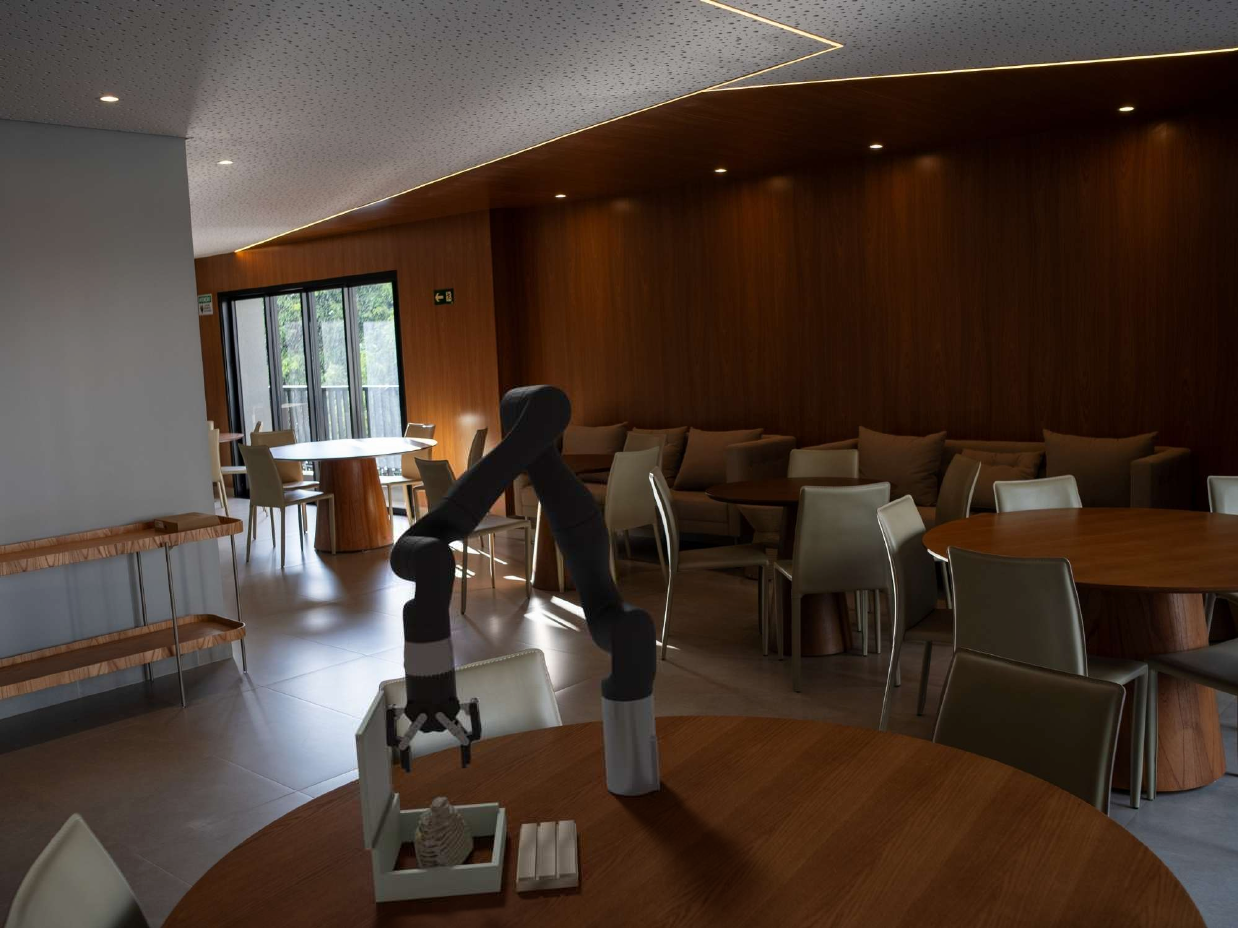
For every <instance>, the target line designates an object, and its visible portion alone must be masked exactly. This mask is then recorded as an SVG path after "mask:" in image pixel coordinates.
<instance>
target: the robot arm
mask: <svg viewBox="0 0 1238 928" xmlns="http://www.w3.org/2000/svg"><path fill="white" fill-rule="evenodd" d="M571 404H572V403H571V401H570V398H569V396H568V394H566V392H565V391H564V390H562V388H559V386H555V385H551V384H550V385H549V384H539V385H530V386H522V387H516V388H513V389H510V390H509V391H507V392H506V393H505V394H504V395H503V397H502V399H501V401H500V404H499V418H500V423H501V425H502V429H503V431H504V433H505V437H504V438H503V439H502V440H500V442H498V444H497V445H496V446H495V447H494V448H492V449H491V450H490V451H488V453H486V454H485V455H484V456H482V457H481V458H480V459H478V460H477V461H476V462H474V463H473V464H472V465H471V466H470V467H469V468H467V469H466V470H465V471H464V472H463V473H461V475H460V476H459V477H458V478H457V479H456V480H455V481H454V482H453V484H452V485H451V486H450V487H449V488H448V490H447V491H446V492H445V493H444V495H443V496H442V497H441V498H440V500H438V502H437V503H436V505H435V506H434V508H432V509H431V510H430V511H428V512H427V513H425V514H424V515H423V516H421V517H420V519H418V520H417V521H416V522H415V523H413V524H412V525H411V526H410V527H408V528H407V529H406V530H405V531H404V532H403V533H402V534H401V536H399V538H398V539H397V540H396V542H395V543H394V545H393V546H392V549H391V552H390V556H389V563H390V568H391V570H392V572H393V573H394V575H396V577H398V578H399V579H402V580H404V581H407V582H408V581H409V582H411V583H412V582H413V583H415V588H414V597H413V598H411V599H409V600H407V601H406V602H405V603H404V605H403V607H402V625H403V626H402V627H403V662H402V663H403V669H404V678H405V679H404V680H405V681H404V682H405V692H406V704H405V705H396V703H393V702H392V703H390V704H388V707H387V708H386V743H387V745H388V746H389V748H391V747H395V748H398V750H399V756H400V757H399V758H400V767H401V769H402V770H405V773H406V774H408V773H411V772H412V769H413V757H412V756H413V755H412V745H411V744H410V743H411V741H412V740H414V738H415V736H416V735H417V734H418V732H421V733H422V734H430V733H432V732H437V733H444V732H445V731H446V730H447V731H448V732H449V733H450V734H451V735H452V737H455V738H456V739H457V740H458V741H459V742H460V759H461V761H460V762H461V769H468V765H470V764H471V761H472V758H473V757H472V742H475V741H479V740H480V739H481V738H482V733H483V731H482V730H483V728H482V727H483V726H482V721H481V713H480V705H479V700H478V698H477V697H472V698H471V699H470V700H465V701H460V700H459V698H458V694H457V679H456V665H455V664H456V663H455V650H454V644H453V639H452V629H451V616H450V605H451V601H452V598H453V590H454V586H455V579H456V573H457V572H456V569H457V567H456V564H457V563H456V558H455V555H454V552H453V549H452V547H451V546H450V544H452V543H454V542H457V541H462V540H465V539H467V538H468V537H469V536H470V535H472V533H473V532H474V531H475V530H476V528H477V527H478V526H479V525H480V523H481V522H482V521H483V519H484V518H485V517H486V516H487V515H488V513H489V512H490V511H491V509H492V508H493V506H494V505H495V504H496V502H497V501H498V500H499V499H500V498H501V497H502V496H503V494H504V493H505V491H506V490H508V488H509V487H510V486H511V485H512V484H513V483H514V482H515V480H517V478H519V476H520V475H521V474H522V473H523V472H524V471H525V473H526V474H527V476H528V478H529V481H530V483H531V486H532V488H533V491H534V493H535V495H536V497H537V499H538V503H539V504H540V506H541V509H542V511H543V514H544V516H545V518H546V522H547V524H548V527H549V529H550V532H551V534H552V537H553V539H554V542H555V543H556V547H557V548H558V550H559V553H560V555H561V556H562V558H563V562H564V563H565V566H566V569H567V571H568V574H569V576H570V578H571V580H572V582H573V584H574V587H575V590H576V592H577V596H578V598H579V601H580V604H581V607H582V611H583V615H584V618H585V621H586V626H587V628H588V629H587V630H588V631H589V635H590V637H591V639H592V640H593V642H594V644H595V645H596V646H597V647H598V648H600V649H601V650H602V651H604V652H606V653H608V654H611V655H610V657H611V658H610V659H611V671H610V673H607V674H606V675H603V677H602V679H601V681H600V692H601V705H602V706H601V707H602V723H603V725H602V726H603V738H604V756H605V757H604V758H605V769H606V770H605V771H606V773H605V775H606V785H607V786H606V787H607V790H608V791H610V792H612V793H613V794H615V795H618V796H619V795H620V796H627V797H633V796H634V797H635V796H642V795H646V794H649V793H651V792H653V791H659V790H661V789H660V788H661V787H660V771H659V769H660V768H659V767H660V766H659V751H658V739H657V734H656V720H655V719H656V718H655V703H654V699H655V698H654V681H655V679H656V677H657V676H656V675H657V665H658V664H657V631H656V626H655V625H656V624H655V622H654V619H653V617H652V615H651V614H650V613H649V612H648V611H647V610H645V609H643V608H641V607H638V606H635V605H633V604H629V603H626V601H625V600H624V599H623V597H622V596H621V594H620V593H621V592H620V591H619V589H618V587H617V585H616V583H615V580H614V578H613V577H614V576H613V575H612V572H611V571H612V570H611V566H610V565H611V564H610V557H611V555H610V554H611V538H610V537H611V536H610V531H609V529H608V526H607V522H606V520H605V518H604V515H603V513H602V511H601V508H600V505H599V503H598V501H597V499H596V498H595V496H594V494H593V493H592V491H591V490H590V489H589V487H587V485H586V484H585V483H584V482H583V481H582V480H581V478H579V476H578V475H576V473H575V472H574V471H573V470H572V469H571V468H570V467H569V465H568V464H566V461H564V459H563V457H562V456H561V454H560V452H559V450H558V448H557V446H556V443H555V442H556V441H557V439H559V438H560V437H561V436H562V434H564V433H565V431H566V430H567V428H569V425H570V422H571V420H572V419H571V418H572V414H573V413H572V411H573V409H572V405H571ZM460 711H463V712H464V713H465V715H466V716H467V717H469V718H470V726H471V730H470V731H468V730H467V729H466V727H464V725H463V722H461V721H460V720H459V718H458V717H457V715H458V714H459V713H460ZM403 714H404V715H405V717H406V718H407V719H408V720H409V721H410V722H411V724H410V725H409V726H408V728H407V730H406V731H405V733H404V734H403V735H402V736H401V735H398V721H400V720H401V717H402V715H403Z"/></svg>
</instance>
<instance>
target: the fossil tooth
mask: <svg viewBox="0 0 1238 928" xmlns="http://www.w3.org/2000/svg"><path fill="white" fill-rule="evenodd" d="M448 800H449V798H448V797H446V796H444V797H441V796H437V797H436V798H434V799H433V801H432V802H431V803H430V805H429V808H430V809H428V810H426V811H425V812H424V813H422V814H421V815H420V819H421V820H420V821H419V822H418V825H419V826H418V828H417V829H416V831H415V834H414V841H415V842H413V845H414V849H415V850H414V851H415V857H416V860H417V863H418V867H419V868H418V869H424V868H435V867H447V866H458V865H463V863H464V862H465V861H466V859H467V857H469V855H470V853H471V852H472V850H473V849H474V839H473V837H472V835H471V834H470V833H471V831H469V828H468V827H467V824H466V823H464V821H465V820H463V819H462V816H461V814H458V809H457V808H455V809H454V806H455V805H452V804H450V802H449V801H448Z"/></svg>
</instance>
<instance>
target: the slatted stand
mask: <svg viewBox="0 0 1238 928" xmlns="http://www.w3.org/2000/svg"><path fill="white" fill-rule="evenodd" d="M576 824H577V823H575V821H574V819H572V820H570V819H569V820H559V821H558V824H556V821H548V822H547V821H546V822H540V826H538V823H537V822H535V823H523V824H521V827H520V828H519V829H520V831H519V842H518V843H519V844H518V855H517V856H518V857H517V868H516V869H517V871H516V892H528V891H529V892H530V891H539V890H550V889H551V890H552V889H563V888H573V887H579V886H580V885H579V870H578V869H579V867H578V866H579V865H578V842H577V841H578V839H577V825H576Z"/></svg>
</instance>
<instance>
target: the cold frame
mask: <svg viewBox="0 0 1238 928" xmlns="http://www.w3.org/2000/svg"><path fill="white" fill-rule="evenodd" d="M386 707H387V706H386V697H385V690H378V691H377V692H376V695H375V697H374V698H373V700H372V702H371V704H370V706H369V708H368V710H367V712H366V714H365V715H364V717H363V719H362V721H361V723H360V725H359V727H358V728H357V730H356V732H355V734H354V736H355V737H354V738H355V747H356V750H355V751H356V758H357V759H356V761H357V769H358V783H359V792H360V793H359V794H360V804H361V805H360V806H361V815H362V817H361V818H362V827H363V837H364V848H365V851H371V861H372V872H373V873H372V874H373V883H374V885H373V886H374V893H375V894H374V895H375V903H383V902H385V903H386V902H392V901H393V902H394V901H405V900H416V899H417V900H418V899H430V898H438V897H439V898H441V897H449V896H450V897H453V896H463V895H472V894H473V895H476V894H484V893H485V894H487V893H497V892H498V893H499V892H501V886H502V878H503V876H502V875H503V868H504V858H505V857H504V856H505V849H506V848H505V847H506V839H507V838H506V837H507V822H506V821H507V820H506V807H500V808H499V802H488V803H479V804H478V803H475V804H464V805H453V806H454V809H455V808H457V809H458V814H461V816H462V819H463V820H465V821H464V823H466V824H467V827H468V828H469V831H471V833H470V834H471V835H472V838H474V837H484V836H494V843H493V851H492V857H491V858H492V859H491V862H484V863H473V864H461V865H458V866H447V867H435V868H424V869H419V868H416V869H415V868H414V869H413V868H412V869H402V870H394V868H395V865H396V862H397V859H398V857H399V853H400V850H401V846H402V844H404V843H411V842H413V843H414V842H415V841H414V834H415V831H416V829H417V828H418V826H419V825H418V822H419V821H420V820H421V819H420V815H421V814H422V813H424V812H425V811H426V810H428V809H430V807H427V808H417V809H405V810H404V809H403V810H401V804H400V803H401V802H400V801H401V800H400V793H398V792H395V790H394V789H393V780H392V778H393V777H392V768H391V767H392V765H391V755H390V747H389V746H388V745H387V743H386V711H387V708H386Z"/></svg>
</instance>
